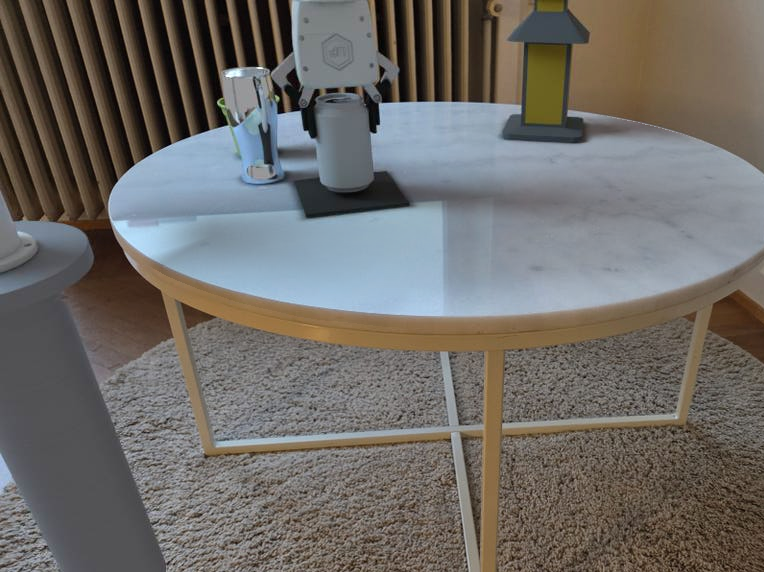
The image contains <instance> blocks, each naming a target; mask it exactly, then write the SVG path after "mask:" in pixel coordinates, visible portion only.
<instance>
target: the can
mask: <svg viewBox="0 0 764 572" xmlns="http://www.w3.org/2000/svg"><path fill="white" fill-rule="evenodd" d="M363 100H364V97H363V96H362V95H360V94H357V93H352V92H351V93H350V92H331V93H326V94H321V95H318V96H317V97H315V99H314V101H315V103H316V104H315V105H314V106H313V107H312V108H313V112H314V120H315V129H316V137H315V139H314V141H315V150H316V160H317V166H318V167H317V168H318V173H319V174H318V175H319V178H320V182H321V183H322V184H323V185H325V186H326V187H327V188H328V189H329V190H331V191H335V192H356V191H360V190H363V189H365V188H367V187H368V186H369V184H370V183H371V182H372V181H373V180H374V173H373V172H374V162H373V151H372V150H373V148H372V147H373V146H372V135H371V134H372V133H371V132H370V122H369V109H368V108H367V107H366V105H365V103H364V101H363Z"/></svg>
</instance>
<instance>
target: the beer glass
mask: <svg viewBox="0 0 764 572" xmlns="http://www.w3.org/2000/svg"><path fill="white" fill-rule="evenodd" d="M270 70H271V69H269V68H265V67H258V66H243V67H233V68H228V69H225V70H222V71H221V72H220V76H221V86H222V92H223V94H222V95H223V98H224V100H225V106H226V110H227V115H228V118H229V121H230V124H231V127H232V129H233V132H234V135H235V137H236V140H237V143H238V146H239V149H240V152H241V157H240V158H241V164H242V165H241V169H242V171H241V173H242V174H241V176H242V180H243V182H244V183H248V184H251V185H269V184H274V183H276V182H280V181H282V180H283V179H284V178H285V172H284V169H283V167H282V164H281V161H280V156H279V149H278V129H279V125H278V124H279V123H278V122H279V121H278V118H279V117H278V104H277V105H276V98H275V95H276V94H275V93H276V92H275V89H274V84H273V79H272V77H271V71H270Z"/></svg>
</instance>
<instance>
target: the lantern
mask: <svg viewBox="0 0 764 572" xmlns="http://www.w3.org/2000/svg"><path fill="white" fill-rule="evenodd" d="M590 34H591V32H590V31H589V30H588V28H586V27H585V25H584V24H583V23H582V22H581V21H580V20H579V19H578V17H576V16H575V14H573V12H572V11H571V10H570V9H569V0H533V10H532V11H531V12H530V13H529V14H528V16H527V17H525V18H524V20H522V21H521V22H520V23H519V25H517V26H516V28H515V29H513V31H512V32H511V33H510V35H509V36H508V37H507V38H506V41H507V42H513V43H514V42H515V43H523V60H522V81H521V82H522V83H521V84H522V85H521V105H520V106H521V110H520V111H521V112H520V113H513V114H510V115H509V117H508V118H507V121H506V123H505V125H504V128H503V130H502V133H501V135H502V136H501V137H502V139H504V140H510V141H529V142H533V141H534V142H550V143H570V144H579V143H581V142H582V138H583V129H584V118H582V117H580V116H568V114H569V113H568V112H569V99H570V88H571V87H570V86H571V76H572V75H571V74H572V61H573V50H574V49H573V47H574V45H586V44H589V41H590Z"/></svg>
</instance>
